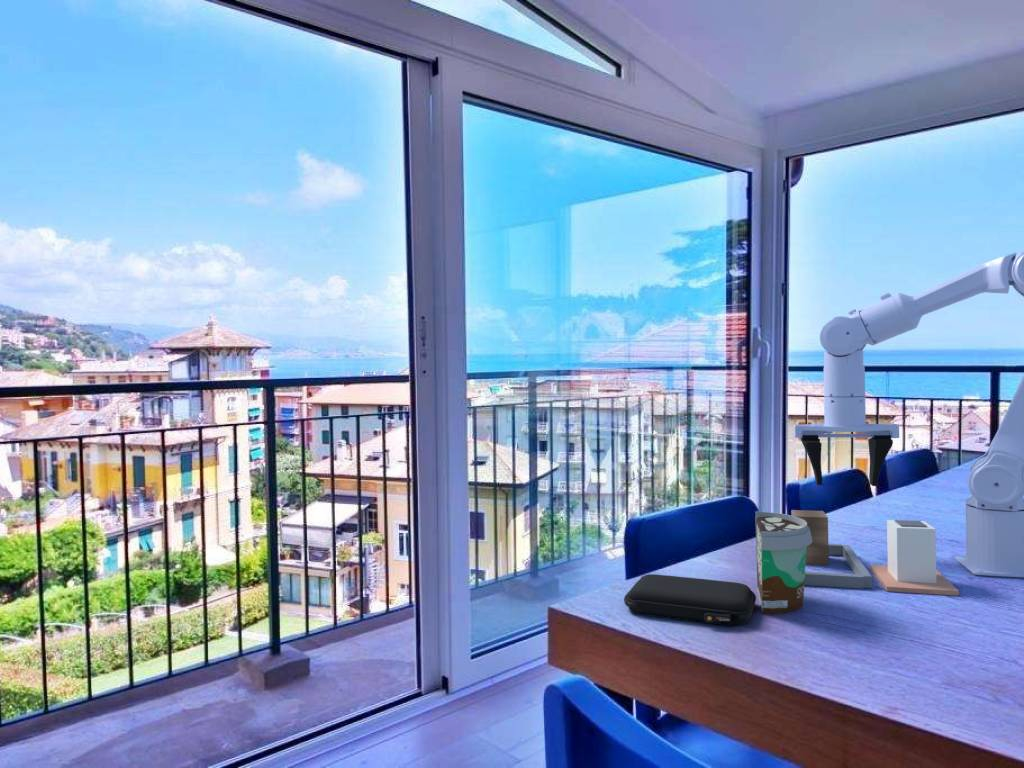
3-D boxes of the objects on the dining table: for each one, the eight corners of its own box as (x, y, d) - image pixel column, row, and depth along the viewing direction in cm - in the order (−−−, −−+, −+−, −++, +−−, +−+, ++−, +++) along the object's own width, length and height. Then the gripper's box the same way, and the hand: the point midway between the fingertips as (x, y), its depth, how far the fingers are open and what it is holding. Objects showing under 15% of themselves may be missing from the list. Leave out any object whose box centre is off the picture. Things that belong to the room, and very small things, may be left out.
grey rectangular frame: (848, 554, 104) (848, 544, 104) (872, 589, 88) (872, 577, 88) (764, 550, 108) (764, 540, 108) (773, 583, 91) (773, 572, 91)
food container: (821, 622, 77) (819, 534, 77) (763, 618, 79) (761, 532, 79) (806, 588, 89) (805, 512, 89) (756, 585, 91) (755, 510, 91)
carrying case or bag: (617, 619, 81) (748, 637, 75) (617, 594, 81) (748, 609, 75) (639, 592, 90) (757, 605, 84) (639, 569, 90) (757, 580, 84)
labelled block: (924, 572, 92) (923, 519, 92) (936, 583, 88) (935, 527, 88) (887, 571, 93) (887, 518, 93) (897, 581, 89) (896, 526, 89)
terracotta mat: (934, 572, 94) (934, 567, 94) (958, 595, 85) (958, 590, 85) (870, 568, 97) (870, 564, 97) (886, 591, 87) (886, 586, 87)
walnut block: (824, 557, 103) (823, 511, 103) (828, 565, 99) (827, 517, 99) (792, 555, 104) (791, 510, 104) (795, 563, 100) (794, 516, 100)
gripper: (890, 394, 107) (892, 481, 107) (791, 395, 111) (792, 479, 111) (902, 396, 100) (903, 489, 100) (795, 398, 104) (797, 486, 105)
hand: (845, 484), depth 105 cm, fingers open, 7 cm apart
